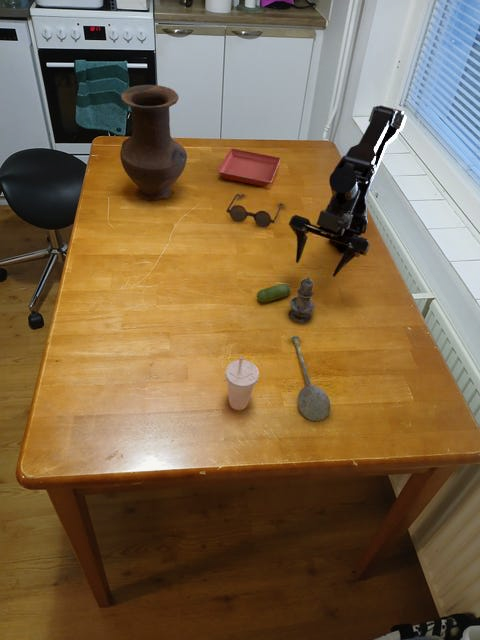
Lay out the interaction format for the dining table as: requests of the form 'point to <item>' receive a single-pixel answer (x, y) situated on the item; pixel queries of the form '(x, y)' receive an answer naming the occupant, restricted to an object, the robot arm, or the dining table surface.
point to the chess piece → (302, 302)
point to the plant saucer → (249, 167)
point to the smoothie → (241, 382)
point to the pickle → (273, 292)
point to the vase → (152, 142)
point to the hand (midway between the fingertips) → (315, 269)
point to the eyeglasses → (250, 214)
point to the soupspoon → (311, 395)
